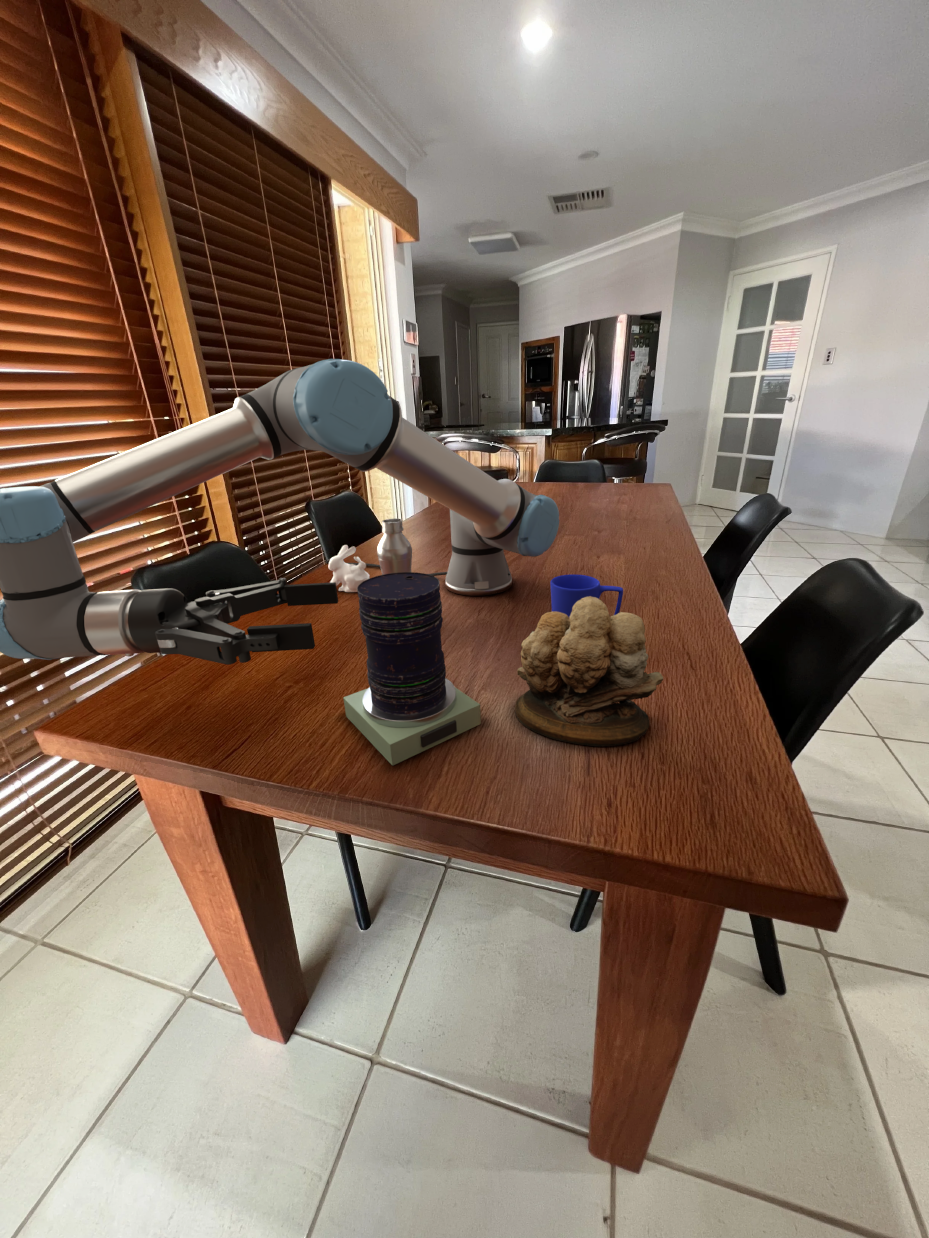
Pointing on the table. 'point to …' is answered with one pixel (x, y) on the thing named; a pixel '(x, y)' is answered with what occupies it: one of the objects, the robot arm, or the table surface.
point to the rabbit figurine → (347, 570)
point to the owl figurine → (586, 676)
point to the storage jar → (403, 641)
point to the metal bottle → (394, 548)
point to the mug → (577, 591)
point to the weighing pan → (411, 720)
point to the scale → (412, 728)
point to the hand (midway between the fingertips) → (326, 612)
